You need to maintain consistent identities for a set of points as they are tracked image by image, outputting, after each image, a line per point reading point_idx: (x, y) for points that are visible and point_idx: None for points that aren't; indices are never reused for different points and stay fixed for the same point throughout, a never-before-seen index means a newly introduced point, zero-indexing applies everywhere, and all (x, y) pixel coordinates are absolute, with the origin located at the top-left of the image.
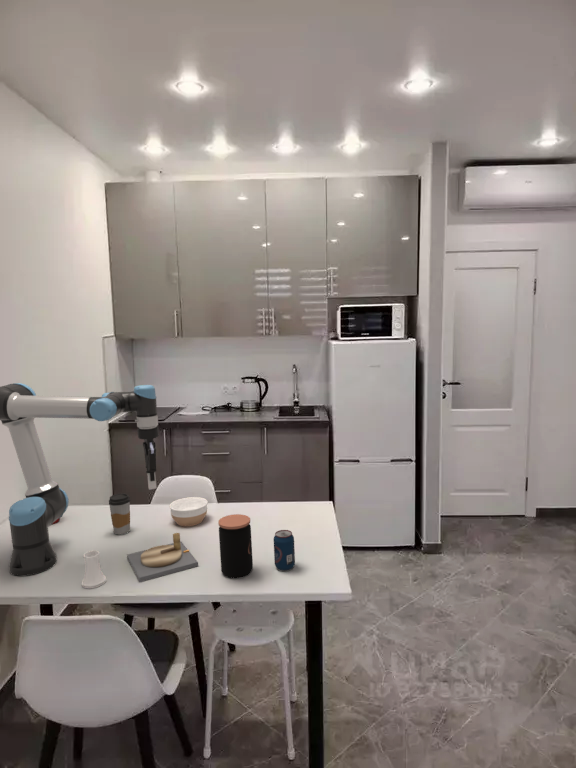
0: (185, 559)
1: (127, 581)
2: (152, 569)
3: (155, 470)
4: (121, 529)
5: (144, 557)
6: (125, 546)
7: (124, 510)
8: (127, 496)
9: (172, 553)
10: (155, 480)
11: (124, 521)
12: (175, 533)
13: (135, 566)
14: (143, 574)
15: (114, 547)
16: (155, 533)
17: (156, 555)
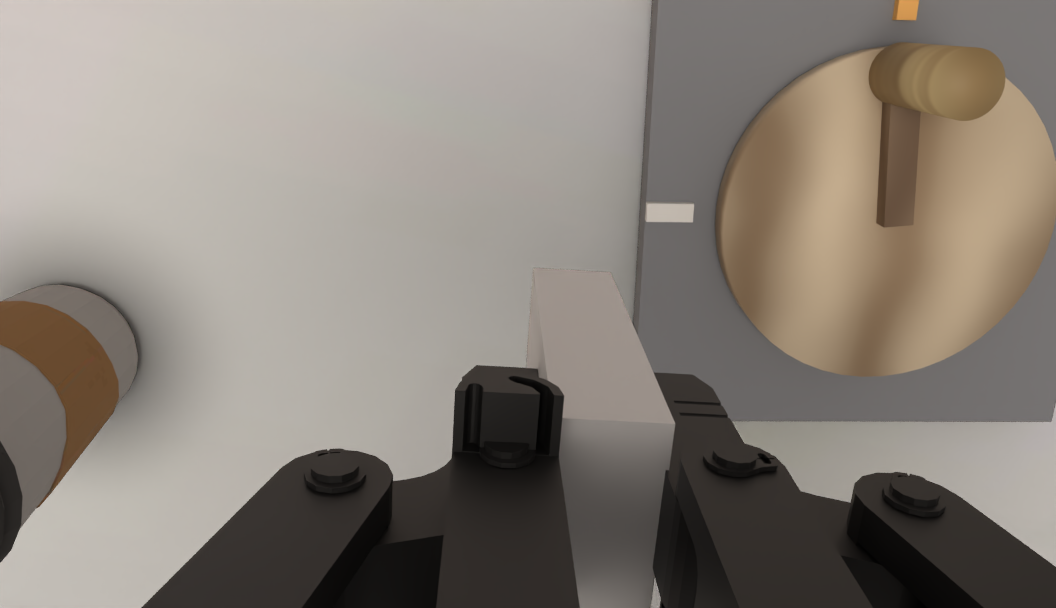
0: (1035, 50)
1: (965, 467)
2: (1004, 319)
3: (959, 521)
4: (124, 379)
5: (866, 351)
6: (401, 378)
7: (39, 421)
8: None
9: (956, 140)
10: (635, 338)
11: (95, 379)
12: (945, 86)
13: (871, 408)
14: (1028, 388)
15: (373, 449)
16: (259, 100)
17: (896, 264)
